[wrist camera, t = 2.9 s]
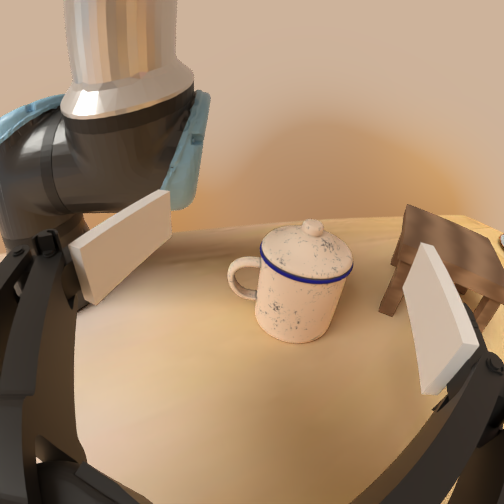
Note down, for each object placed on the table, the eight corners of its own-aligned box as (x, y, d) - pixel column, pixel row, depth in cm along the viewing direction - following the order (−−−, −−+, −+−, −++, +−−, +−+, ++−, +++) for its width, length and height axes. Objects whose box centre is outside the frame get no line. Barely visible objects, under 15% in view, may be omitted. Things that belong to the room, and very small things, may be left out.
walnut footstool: (374, 312, 32) (403, 243, 26) (389, 256, 43) (407, 203, 38) (473, 351, 25) (513, 292, 20) (464, 287, 37) (488, 238, 32)
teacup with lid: (323, 291, 34) (346, 208, 28) (338, 347, 27) (376, 253, 21) (229, 285, 34) (234, 196, 28) (222, 342, 26) (224, 241, 20)
